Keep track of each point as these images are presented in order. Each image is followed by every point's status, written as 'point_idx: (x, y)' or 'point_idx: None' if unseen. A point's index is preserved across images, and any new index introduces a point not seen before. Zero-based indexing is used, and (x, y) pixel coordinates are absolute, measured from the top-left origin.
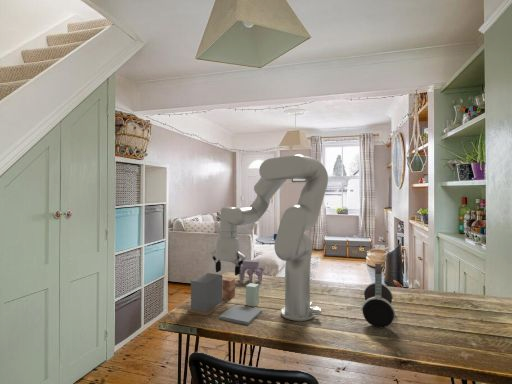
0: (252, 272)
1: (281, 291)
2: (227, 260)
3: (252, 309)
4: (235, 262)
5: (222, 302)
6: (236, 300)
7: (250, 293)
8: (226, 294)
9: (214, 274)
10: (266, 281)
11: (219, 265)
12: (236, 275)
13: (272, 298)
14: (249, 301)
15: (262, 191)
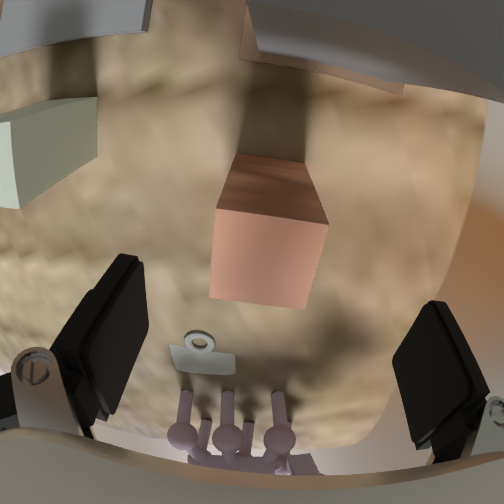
0: (212, 438)
1: (58, 329)
2: (215, 497)
3: (30, 31)
4: (47, 422)
5: (249, 34)
6: (186, 147)
7: (20, 112)
8: (271, 167)
9: (432, 24)
10: (175, 411)
11: (425, 397)
12: (123, 259)
13: (36, 245)
14: (61, 101)
15: None
